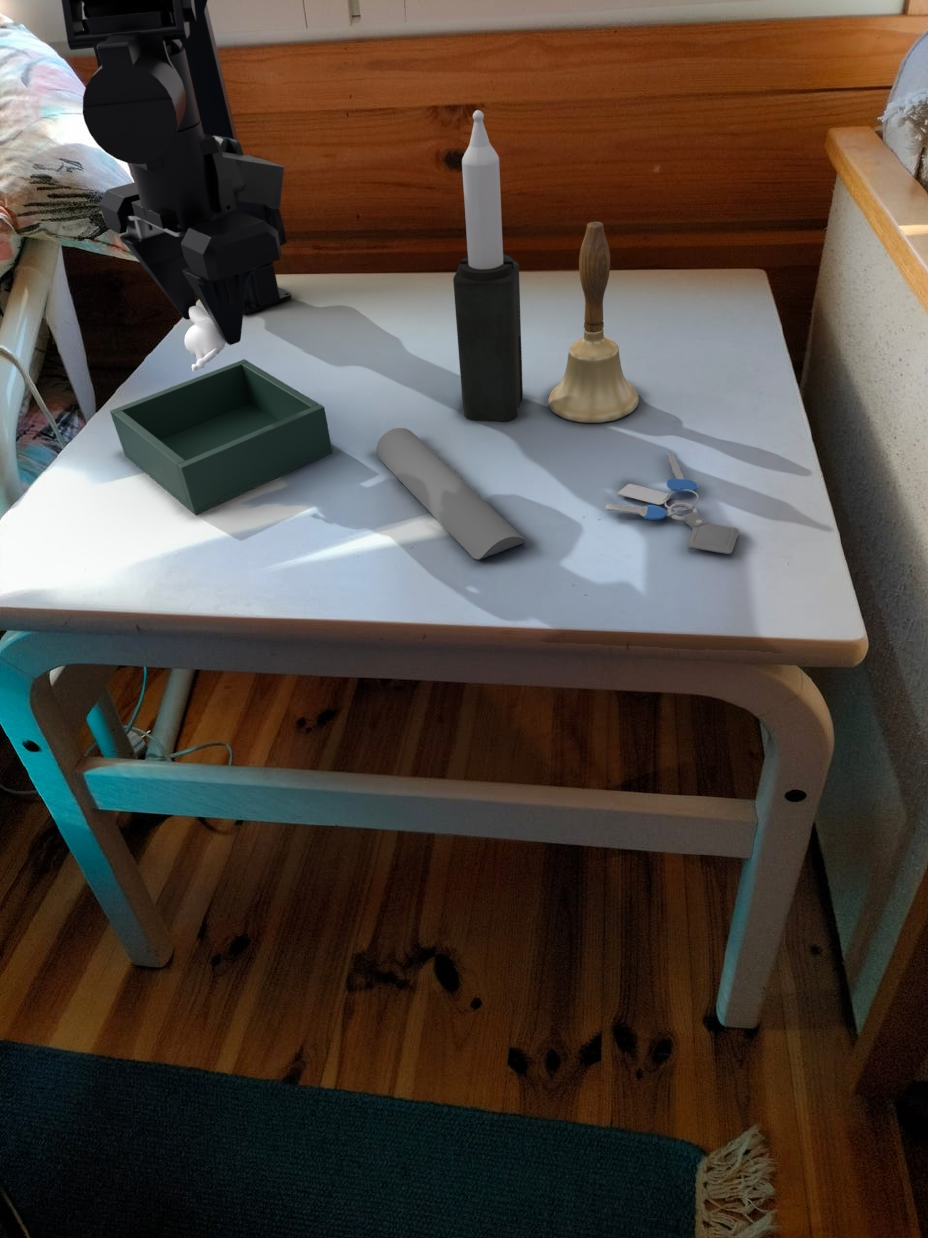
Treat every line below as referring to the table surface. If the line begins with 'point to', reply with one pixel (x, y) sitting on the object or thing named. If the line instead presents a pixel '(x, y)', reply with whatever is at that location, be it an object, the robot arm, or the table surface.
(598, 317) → the hand bell
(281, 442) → the bin
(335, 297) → the table surface
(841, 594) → the table surface
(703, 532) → the key chain
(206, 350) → the rabbit figurine
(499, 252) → the candle
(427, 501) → the half round rod
